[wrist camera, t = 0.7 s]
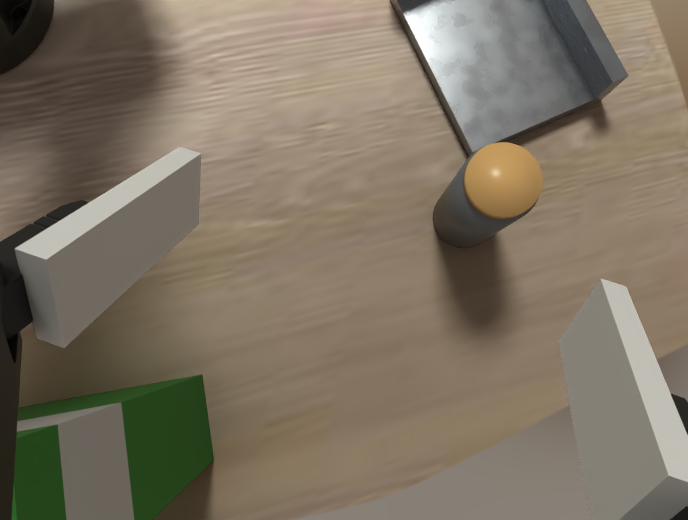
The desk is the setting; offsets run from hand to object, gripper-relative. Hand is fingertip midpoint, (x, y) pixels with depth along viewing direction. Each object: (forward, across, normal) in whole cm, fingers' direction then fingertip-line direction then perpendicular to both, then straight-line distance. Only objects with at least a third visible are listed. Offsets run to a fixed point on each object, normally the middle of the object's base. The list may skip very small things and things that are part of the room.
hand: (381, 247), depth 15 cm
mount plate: (+39, +4, +1) cm, 39 cm away
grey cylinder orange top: (+28, +6, -12) cm, 30 cm away
